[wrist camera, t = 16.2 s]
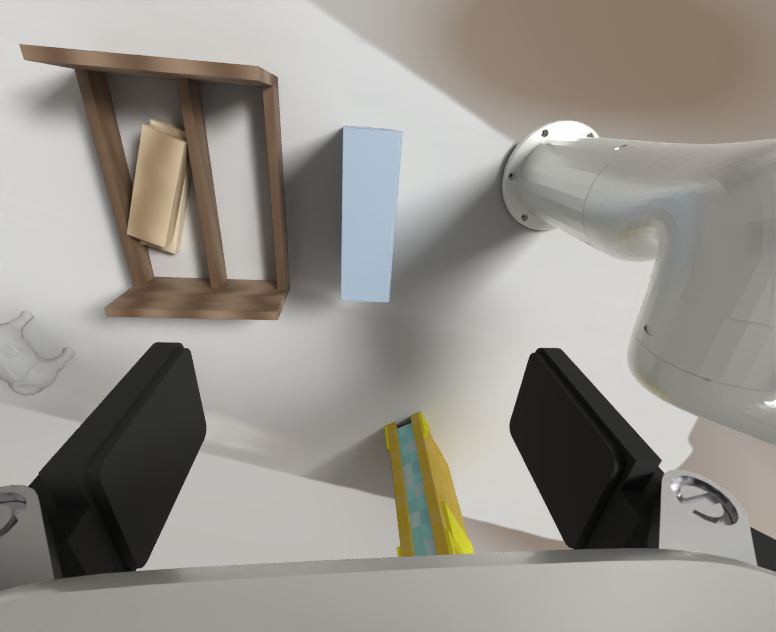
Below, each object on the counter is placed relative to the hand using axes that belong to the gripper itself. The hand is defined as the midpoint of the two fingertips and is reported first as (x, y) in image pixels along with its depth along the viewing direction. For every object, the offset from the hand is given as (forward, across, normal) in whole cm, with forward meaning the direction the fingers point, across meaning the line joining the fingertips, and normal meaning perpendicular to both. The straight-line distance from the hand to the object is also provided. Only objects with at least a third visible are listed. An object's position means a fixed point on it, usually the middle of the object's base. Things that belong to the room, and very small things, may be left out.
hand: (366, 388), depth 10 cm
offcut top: (+37, +22, +2) cm, 43 cm away
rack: (+38, +18, +2) cm, 42 cm away
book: (+38, -13, +45) cm, 61 cm away
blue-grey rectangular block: (+38, -1, +2) cm, 38 cm away
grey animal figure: (+39, +43, +22) cm, 62 cm away
